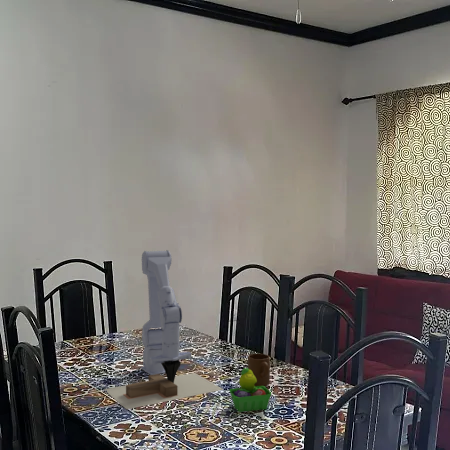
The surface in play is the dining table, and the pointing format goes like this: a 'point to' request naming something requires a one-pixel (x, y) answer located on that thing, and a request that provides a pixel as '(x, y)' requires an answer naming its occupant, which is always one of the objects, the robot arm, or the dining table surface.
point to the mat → (186, 388)
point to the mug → (260, 368)
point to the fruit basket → (249, 393)
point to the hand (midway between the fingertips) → (170, 382)
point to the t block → (152, 387)
